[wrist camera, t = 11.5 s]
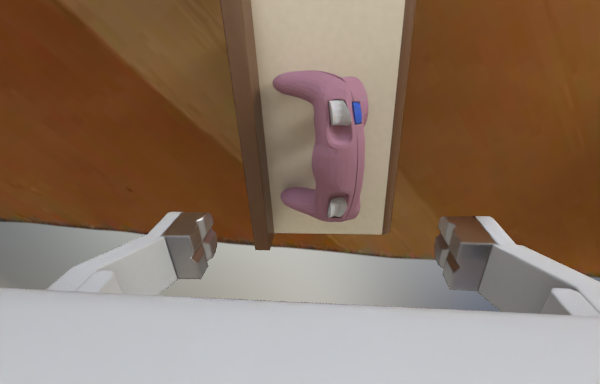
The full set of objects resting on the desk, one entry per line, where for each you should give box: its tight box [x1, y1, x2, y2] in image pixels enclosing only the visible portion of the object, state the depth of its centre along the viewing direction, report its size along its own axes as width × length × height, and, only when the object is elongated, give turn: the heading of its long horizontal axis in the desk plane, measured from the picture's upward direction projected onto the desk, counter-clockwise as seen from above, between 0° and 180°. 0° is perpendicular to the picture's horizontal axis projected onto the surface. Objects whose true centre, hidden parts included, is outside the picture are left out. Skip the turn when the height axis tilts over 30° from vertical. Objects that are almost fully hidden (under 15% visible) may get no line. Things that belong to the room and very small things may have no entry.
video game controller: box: [273, 70, 368, 222], centre depth 19 cm, size 10×5×7 cm, turn 2°
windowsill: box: [220, 0, 417, 250], centre depth 25 cm, size 11×18×12 cm, turn 2°
